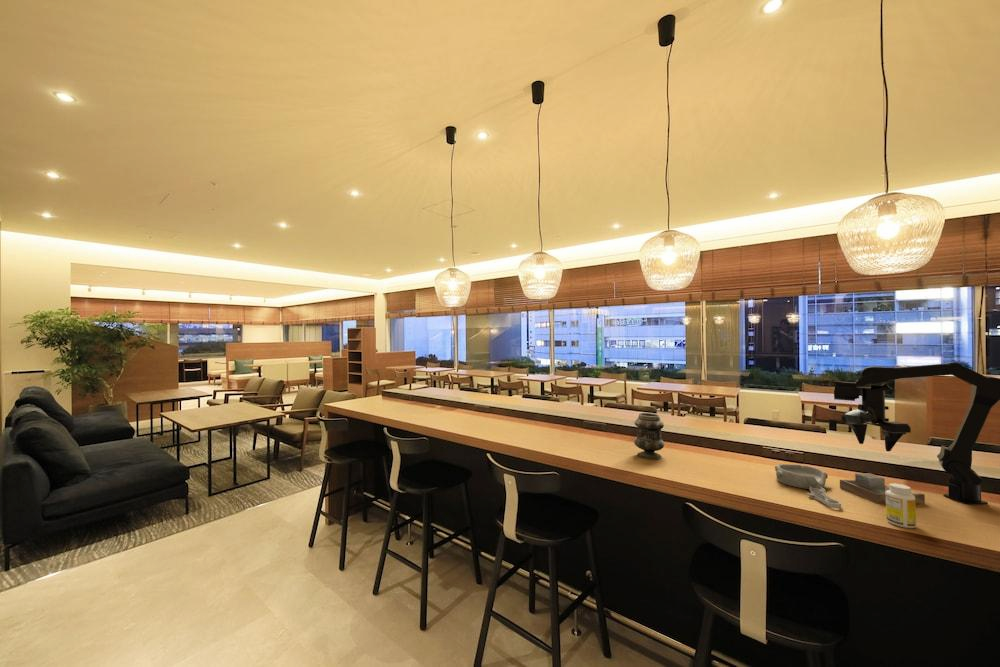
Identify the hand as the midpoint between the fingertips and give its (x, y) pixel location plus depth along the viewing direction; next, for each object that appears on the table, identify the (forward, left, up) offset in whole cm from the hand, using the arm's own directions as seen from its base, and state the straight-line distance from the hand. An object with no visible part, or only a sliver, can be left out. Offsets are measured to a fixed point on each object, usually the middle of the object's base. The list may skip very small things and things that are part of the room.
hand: (874, 447), depth 131 cm
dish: (+27, 0, -13) cm, 29 cm away
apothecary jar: (+66, -32, -13) cm, 74 cm away
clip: (+12, +10, -11) cm, 19 cm away
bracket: (+30, +13, -13) cm, 35 cm away
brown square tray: (+9, +10, -12) cm, 18 cm away
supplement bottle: (+23, +29, -13) cm, 39 cm away
